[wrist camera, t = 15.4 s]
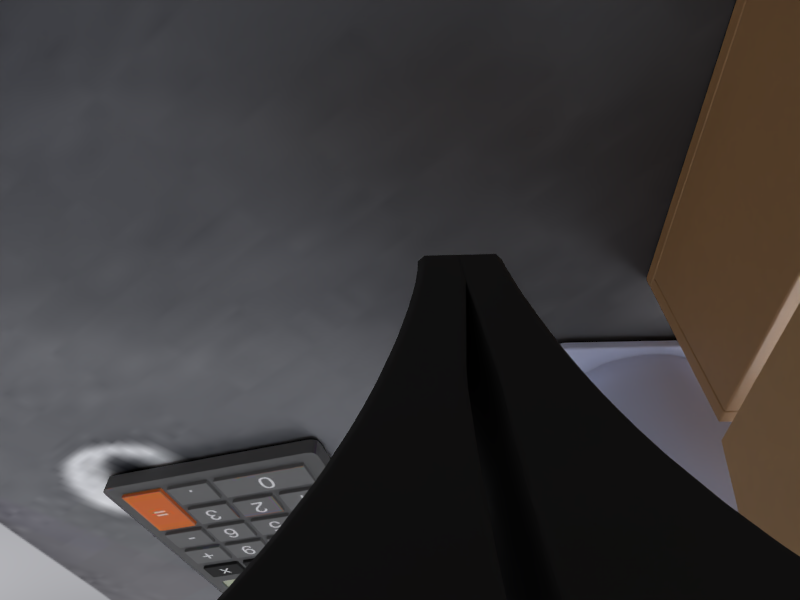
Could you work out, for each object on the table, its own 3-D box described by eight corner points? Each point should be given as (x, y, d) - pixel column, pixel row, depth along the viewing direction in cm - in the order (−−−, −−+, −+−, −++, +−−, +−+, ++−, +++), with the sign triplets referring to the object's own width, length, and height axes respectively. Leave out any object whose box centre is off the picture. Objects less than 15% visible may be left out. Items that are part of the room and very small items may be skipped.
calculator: (314, 454, 27) (405, 587, 36) (316, 437, 28) (404, 572, 37) (98, 493, 29) (236, 609, 39) (105, 477, 30) (239, 594, 39)
